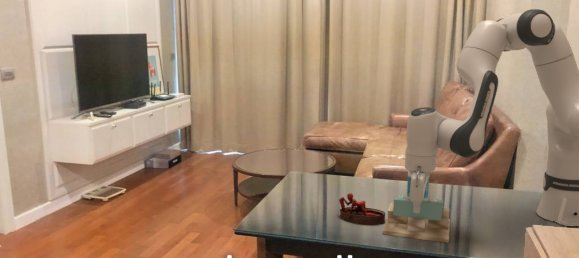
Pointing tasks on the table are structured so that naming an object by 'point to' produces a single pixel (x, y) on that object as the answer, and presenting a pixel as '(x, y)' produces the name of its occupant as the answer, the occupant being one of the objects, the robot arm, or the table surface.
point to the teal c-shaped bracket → (426, 208)
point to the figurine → (360, 212)
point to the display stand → (418, 226)
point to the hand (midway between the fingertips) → (417, 206)
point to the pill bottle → (409, 188)
